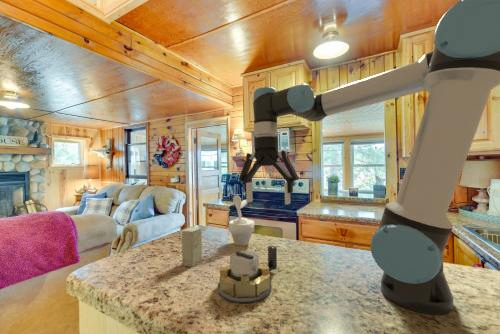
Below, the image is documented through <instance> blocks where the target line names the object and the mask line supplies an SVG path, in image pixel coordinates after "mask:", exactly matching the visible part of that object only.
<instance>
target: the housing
mask: <svg viewBox="0 0 500 334" xmlns="http://www.w3.org/2000/svg"><path fill="white" fill-rule="evenodd" d="M259 256H260V255H259V254H258V253H257V252H255V251H252V250H240V251H239V250H237V251H235V252H233V253H231V255H230V256H229V265H230V278H232V279H234V280H236V281H241V276H249V281H253V280H255V279H256V278H258V277H259V264H260V261H259V260H260V257H259ZM272 289H273V286H272V282H271V281H270V287H269V289H267V290H266V291H264V292H262V293H261V294H259V295H258V296H257V295H255V296H252V297H235V296H234V297H233V296H231V295H229V294H227V293H226V292H224V291H222V290H220V281H219V282H218V284H217V293H218V295H219V297H220V298H221V299H223V300H225V301H227V302H229V303H232V304H238V305H247V304H249V305H250V304H255V303H258V302H259V303H260V302H262V301H263V300H265V299H266V298H268V297H269V296H270V295H271V293H272Z"/></svg>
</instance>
